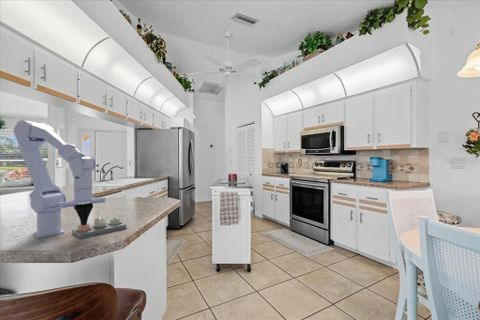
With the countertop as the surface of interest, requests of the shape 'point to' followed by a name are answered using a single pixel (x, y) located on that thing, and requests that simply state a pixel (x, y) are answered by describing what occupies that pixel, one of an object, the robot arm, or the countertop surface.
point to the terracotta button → (83, 228)
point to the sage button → (114, 221)
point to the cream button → (100, 222)
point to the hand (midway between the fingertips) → (83, 224)
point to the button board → (98, 230)
